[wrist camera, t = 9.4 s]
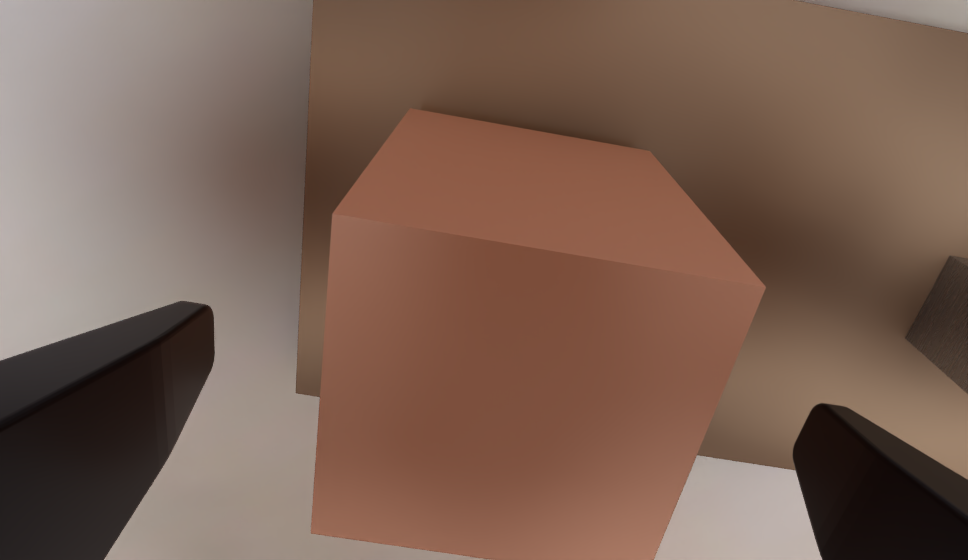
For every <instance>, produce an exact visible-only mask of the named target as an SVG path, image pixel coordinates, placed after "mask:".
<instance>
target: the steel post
mask: <svg viewBox="0 0 968 560" xmlns="http://www.w3.org/2000/svg"><path fill="white" fill-rule="evenodd" d="M905 339H906V340H908V341H909V342H910V343H911V344H912V345H913V346H914V347H915V348H916V349H918V350H919V351H920V352H921V353H922V354H923V355H924V356H925V357H927V358H928V359H929V360H930V361H931V362H932V363H933V364H934V365H936V366H937V367H938V368H939V369H940V370H941V371H942V372H943V373H945V374H946V375H947V376H948V377H949V378H950V379H951V380H952V381H953V382H955V383H956V384H957V385H958V386H959V387H960V388H961V389H962V390H964V391H965V392H966V393H967V394H968V258H962V257H956V256H949V258H948V259H947V261H946V263H945V265H944V267H943V269H942V270H941V272H940V274H939V276H938V278H937V280H936V281H935V283H934V285H933V287H932V289H931V291H930V293H929V294H928V296H927V298H926V300H925V302H924V304H923V305H922V307H921V309H920V311H919V313H918V315H917V317H916V318H915V320H914V322H913V324H912V326H911V328H910V329H909V331H908V333H907V335H906V337H905Z"/></svg>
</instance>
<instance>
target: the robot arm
mask: <svg viewBox="0 0 968 560" xmlns="http://www.w3.org/2000/svg"><path fill="white" fill-rule="evenodd" d="M214 355H215V350H214V316H213V311H212V309H211V308H210V307H209V306H208V305H205V304H199V303H193V302H187V301H180V302H176V303H173V304H170V305H167V306H164V307H161V308H158V309H155V310H152V311H149V312H146V313H143V314H140V315H137V316H134V317H131V318H128V319H125V320H122V321H119V322H116V323H113V324H110V325H107V326H104V327H101V328H98V329H95V330H92V331H89V332H86V333H83V334H80V335H77V336H74V337H71V338H67V339H64V340H61V341H58V342H55V343H52V344H49V345H46V346H43V347H40V348H37V349H34V350H31V351H28V352H25V353H22V354H19V355H16V356H13V357H10V358H7V359H4V360H1V361H0V560H104V559H105V557H106V555H107V554H108V552H109V551H110V549H111V548H112V546H113V544H114V543H115V541H116V540H117V538H118V537H119V535H120V533H121V532H122V530H123V529H124V527H125V526H126V524H127V523H128V521H129V519H130V518H131V516H132V515H133V513H134V512H135V510H136V508H137V507H138V505H139V504H140V502H141V501H142V499H143V497H144V496H145V494H146V493H147V491H148V490H149V488H150V486H151V485H152V483H153V482H154V480H155V479H156V477H157V475H158V474H159V472H160V471H161V469H162V467H163V466H164V464H165V462H166V461H167V459H168V457H169V455H170V454H171V452H172V450H173V448H174V446H175V444H176V442H177V440H178V438H179V436H180V434H181V432H182V429H183V427H184V425H185V423H186V421H187V419H188V417H189V415H190V413H191V411H192V409H193V407H194V405H195V402H196V400H197V398H198V396H199V394H200V392H201V390H202V388H203V386H204V384H205V382H206V380H207V378H208V375H209V373H210V371H211V369H212V366H213V362H214ZM792 455H793V463H794V466H795V470H796V473H797V477H798V480H799V484H800V487H801V491H802V494H803V497H804V501H805V504H806V508H807V511H808V515H809V518H810V522H811V525H812V529H813V532H814V536H815V539H816V542H817V545H818V549H819V552H820V555H821V557H822V560H968V479H966V478H964V477H963V476H961V475H959V474H958V473H956V472H954V471H953V470H951V469H949V468H948V467H946V466H944V465H943V464H941V463H939V462H938V461H936V460H934V459H933V458H931V457H929V456H928V455H926V454H924V453H923V452H921V451H919V450H918V449H916V448H914V447H913V446H911V445H909V444H908V443H906V442H904V441H903V440H901V439H899V438H898V437H896V436H894V435H893V434H891V433H890V432H888V431H886V430H885V429H883V428H881V427H880V426H878V425H876V424H875V423H873V422H871V421H870V420H868V419H866V418H865V417H863V416H861V415H860V414H858V413H856V412H855V411H853V410H851V409H850V408H848V407H844V406H840V405H833V404H827V403H819V404H817V405H815V406H814V407H813V408H812V410H811V411H810V413H809V415H808V417H807V419H806V421H805V423H804V425H803V427H802V429H801V431H800V433H799V435H798V437H797V439H796V441H795V444H794V447H793V454H792Z"/></svg>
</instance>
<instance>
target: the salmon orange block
mask: <svg viewBox="0 0 968 560" xmlns="http://www.w3.org/2000/svg"><path fill="white" fill-rule="evenodd" d="M765 289H766V286H765V285H764V284H763V283H762V282H761V281H760V279H759V278H758V277H757V276H756V275H755V274H754V272H753V271H752V270H751V269H750V268H749V267H748V265H747V264H746V263H745V262H744V261H743V260H742V258H741V257H740V256H739V255H738V254H737V253H736V251H735V250H734V249H733V248H732V247H731V245H730V244H729V243H728V242H727V241H726V240H725V238H724V237H723V236H722V235H721V234H720V233H719V231H718V230H717V229H716V228H715V227H714V226H713V224H712V223H711V222H710V221H709V220H708V219H707V217H706V216H705V215H704V214H703V213H702V212H701V210H700V209H699V208H698V207H697V206H696V205H695V203H694V202H693V201H692V200H691V199H690V197H689V196H688V195H687V194H686V193H685V192H684V190H683V189H682V188H681V187H680V186H679V185H678V183H677V182H676V181H675V180H674V179H673V178H672V176H671V175H670V174H669V173H668V172H667V171H666V169H665V168H664V167H663V166H662V165H661V164H660V162H659V161H658V160H657V159H656V158H655V157H654V155H653V154H652V153H651V152H650V151H647V150H642V149H636V148H631V147H625V146H619V145H614V144H608V143H602V142H597V141H591V140H586V139H580V138H574V137H569V136H563V135H558V134H552V133H546V132H541V131H535V130H530V129H524V128H518V127H513V126H507V125H502V124H496V123H490V122H485V121H479V120H474V119H468V118H462V117H457V116H451V115H446V114H440V113H434V112H429V111H423V110H417V109H412V108H410V109H409V110H408V112H407V113H406V114H405V116H404V117H403V118H402V120H401V121H400V122H399V124H398V125H397V126H396V128H395V129H394V131H393V132H392V133H391V135H390V136H389V137H388V139H387V140H386V141H385V143H384V144H383V145H382V147H381V148H380V150H379V151H378V152H377V154H376V155H375V156H374V158H373V159H372V160H371V162H370V163H369V164H368V166H367V167H366V169H365V170H364V171H363V173H362V174H361V175H360V177H359V178H358V179H357V181H356V182H355V184H354V185H353V186H352V188H351V189H350V190H349V192H348V193H347V194H346V196H345V197H344V198H343V200H342V201H341V203H340V204H339V205H338V207H337V208H336V209H335V211H334V212H333V213H332V225H331V240H330V255H329V270H328V285H327V300H326V314H325V329H324V344H323V359H322V374H321V389H320V404H319V418H318V433H317V448H316V463H315V478H314V493H313V508H312V522H311V534H318V535H325V536H332V537H339V538H346V539H353V540H360V541H367V542H373V543H380V544H387V545H394V546H401V547H408V548H415V549H422V550H429V551H436V552H442V553H449V554H456V555H463V556H470V557H477V558H484V559H491V560H654V558H655V555H656V553H657V550H658V548H659V546H660V543H661V541H662V538H663V536H664V533H665V531H666V529H667V526H668V524H669V521H670V519H671V516H672V514H673V512H674V509H675V507H676V504H677V502H678V500H679V497H680V495H681V492H682V490H683V487H684V485H685V483H686V480H687V478H688V475H689V473H690V470H691V468H692V466H693V463H694V461H695V458H696V456H697V453H698V451H699V449H700V446H701V444H702V441H703V439H704V436H705V434H706V432H707V429H708V427H709V424H710V422H711V419H712V417H713V415H714V412H715V410H716V407H717V405H718V403H719V400H720V398H721V395H722V393H723V390H724V388H725V386H726V383H727V381H728V378H729V376H730V373H731V371H732V369H733V366H734V364H735V361H736V359H737V356H738V354H739V352H740V349H741V347H742V344H743V342H744V339H745V337H746V335H747V332H748V330H749V327H750V325H751V323H752V320H753V318H754V315H755V313H756V310H757V308H758V306H759V303H760V301H761V298H762V296H763V293H764V291H765Z"/></svg>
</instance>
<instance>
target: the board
mask: <svg viewBox="0 0 968 560" xmlns="http://www.w3.org/2000/svg"><path fill="white" fill-rule="evenodd" d="M410 108H412V109H417V110H423V111H429V112H434V113H440V114H446V115H451V116H457V117H462V118H468V119H474V120H479V121H485V122H490V123H496V124H502V125H507V126H513V127H518V128H524V129H530V130H535V131H541V132H546V133H552V134H558V135H563V136H569V137H574V138H580V139H586V140H591V141H597V142H602V143H608V144H614V145H619V146H625V147H631V148H636V149H642V150H647V151H650V152H651V153H652V154H653V155H654V157H655V158H656V159H657V160H658V161H659V162H660V164H661V165H662V166H663V167H664V168H665V169H666V171H667V172H668V173H669V174H670V175H671V176H672V178H673V179H674V180H675V181H676V182H677V183H678V185H679V186H680V187H681V188H682V189H683V190H684V192H685V193H686V194H687V195H688V196H689V197H690V199H691V200H692V201H693V202H694V203H695V205H696V206H697V207H698V208H699V209H700V210H701V212H702V213H703V214H704V215H705V216H706V217H707V219H708V220H709V221H710V222H711V223H712V224H713V226H714V227H715V228H716V229H717V230H718V231H719V233H720V234H721V235H722V236H723V237H724V238H725V240H726V241H727V242H728V243H729V244H730V245H731V247H732V248H733V249H734V250H735V251H736V253H737V254H738V255H739V256H740V257H741V258H742V260H743V261H744V262H745V263H746V264H747V265H748V267H749V268H750V269H751V270H752V271H753V272H754V274H755V275H756V276H757V277H758V278H759V279H760V281H761V282H762V283H763V284H764V285H765V286H766V289H765V291H764V293H763V296H762V298H761V301H760V303H759V306H758V308H757V310H756V313H755V315H754V318H753V320H752V323H751V325H750V327H749V330H748V332H747V335H746V337H745V339H744V342H743V344H742V347H741V349H740V352H739V354H738V356H737V359H736V361H735V364H734V366H733V369H732V371H731V373H730V376H729V378H728V381H727V383H726V386H725V388H724V390H723V393H722V395H721V398H720V400H719V403H718V405H717V407H716V410H715V412H714V415H713V417H712V419H711V422H710V424H709V427H708V429H707V432H706V434H705V436H704V439H703V441H702V444H701V446H700V449H699V451H698V453H697V455H700V456H706V457H713V458H719V459H726V460H732V461H739V462H745V463H752V464H758V465H765V466H771V467H778V468H784V469H791V470H795V466H794V463H793V455H792V454H793V447H794V444H795V441H796V439H797V437H798V435H799V433H800V431H801V429H802V427H803V425H804V423H805V421H806V419H807V417H808V415H809V413H810V411H811V410H812V408H813V407H814V406H815V405H817V404H819V403H827V404H833V405H840V406H844V407H848V408H850V409H851V410H853V411H855V412H856V413H858V414H860V415H861V416H863V417H865V418H866V419H868V420H870V421H871V422H873V423H875V424H876V425H878V426H880V427H881V428H883V429H885V430H886V431H888V432H890V433H891V434H893V435H894V436H896V437H898V438H899V439H901V440H903V441H904V442H906V443H908V444H909V445H911V446H913V447H914V448H916V449H918V450H919V451H921V452H923V453H924V454H926V455H928V456H929V457H931V458H933V459H934V460H936V461H938V462H939V463H941V464H943V465H944V466H946V467H948V468H949V469H951V470H953V471H954V472H956V473H958V474H959V475H961V476H963V477H964V478H966V479H968V394H967V393H966V392H965V391H964V390H962V389H961V388H960V387H959V386H958V385H957V384H956V383H955V382H953V381H952V380H951V379H950V378H949V377H948V376H947V375H946V374H945V373H943V372H942V371H941V370H940V369H939V368H938V367H937V366H936V365H934V364H933V363H932V362H931V361H930V360H929V359H928V358H927V357H925V356H924V355H923V354H922V353H921V352H920V351H919V350H918V349H916V348H915V347H914V346H913V345H912V344H911V343H910V342H909V341H908V340H906V339H905V337H906V335H907V333H908V331H909V329H910V328H911V326H912V324H913V322H914V320H915V318H916V317H917V315H918V313H919V311H920V309H921V307H922V305H923V304H924V302H925V300H926V298H927V296H928V294H929V293H930V291H931V289H932V287H933V285H934V283H935V281H936V280H937V278H938V276H939V274H940V272H941V270H942V269H943V267H944V265H945V263H946V261H947V259H948V258H949V256H956V257H962V258H968V33H963V32H958V31H953V30H948V29H942V28H937V27H932V26H927V25H921V24H916V23H911V22H906V21H900V20H895V19H890V18H885V17H879V16H874V15H869V14H864V13H858V12H853V11H848V10H843V9H837V8H832V7H827V6H822V5H816V4H811V3H806V2H801V1H796V0H313V16H312V38H311V60H310V83H309V105H308V128H307V150H306V173H305V195H304V217H303V240H302V262H301V285H300V307H299V330H298V352H297V374H296V393H298V394H304V395H311V396H317V397H320V389H321V374H322V359H323V344H324V329H325V314H326V300H327V285H328V270H329V255H330V240H331V225H332V213H333V212H334V211H335V209H336V208H337V207H338V205H339V204H340V203H341V201H342V200H343V198H344V197H345V196H346V194H347V193H348V192H349V190H350V189H351V188H352V186H353V185H354V184H355V182H356V181H357V179H358V178H359V177H360V175H361V174H362V173H363V171H364V170H365V169H366V167H367V166H368V164H369V163H370V162H371V160H372V159H373V158H374V156H375V155H376V154H377V152H378V151H379V150H380V148H381V147H382V145H383V144H384V143H385V141H386V140H387V139H388V137H389V136H390V135H391V133H392V132H393V131H394V129H395V128H396V126H397V125H398V124H399V122H400V121H401V120H402V118H403V117H404V116H405V114H406V113H407V112H408V110H409V109H410Z"/></svg>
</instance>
